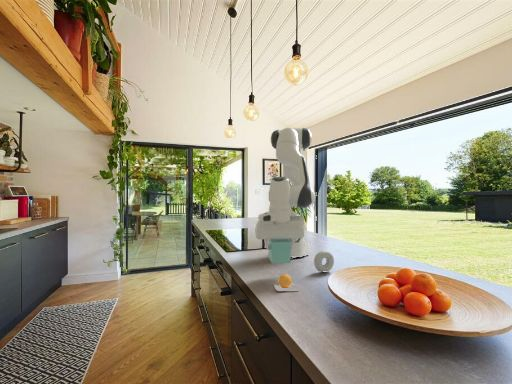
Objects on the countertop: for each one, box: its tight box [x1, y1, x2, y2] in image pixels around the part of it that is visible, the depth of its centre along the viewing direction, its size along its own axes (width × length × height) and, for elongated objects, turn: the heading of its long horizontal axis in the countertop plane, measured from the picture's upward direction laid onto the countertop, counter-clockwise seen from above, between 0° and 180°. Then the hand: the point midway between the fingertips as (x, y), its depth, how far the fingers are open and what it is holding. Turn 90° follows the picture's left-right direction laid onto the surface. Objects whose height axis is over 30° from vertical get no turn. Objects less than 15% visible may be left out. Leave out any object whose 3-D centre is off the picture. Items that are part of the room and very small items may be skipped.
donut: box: [313, 249, 335, 273], centre depth 116 cm, size 10×3×10 cm, turn 111°
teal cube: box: [268, 239, 291, 265], centre depth 108 cm, size 8×8×9 cm
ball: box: [277, 273, 293, 288], centre depth 97 cm, size 5×5×5 cm
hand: (279, 249), depth 107 cm, fingers closed on teal cube, 8 cm apart
